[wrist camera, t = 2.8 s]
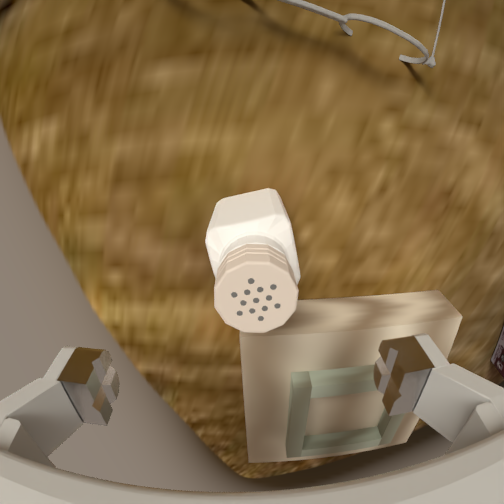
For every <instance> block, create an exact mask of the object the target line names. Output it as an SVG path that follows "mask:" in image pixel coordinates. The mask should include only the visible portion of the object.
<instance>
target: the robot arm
mask: <svg viewBox="0 0 504 504" xmlns="http://www.w3.org/2000/svg"><path fill="white" fill-rule="evenodd" d="M378 351H379V353H380V355H381V356H380V357H379V358H378V359H377V360H376V362H375V365H374V382H375V386H376V388H377V390H378V391H379V392H381V393H383V394H384V396H383V399H382V402H383V404H384V406H385V409H386V411H387V413H388V416H392V415H398V414H403V413H407V412H412V411H413V413H414V414H416V415H417V416H418V417H419V418H421V419H422V420H423V421H425V422H426V423H427V424H428V425H430V426H431V427H432V428H434V429H435V430H436V431H437V432H439V433H440V434H441V435H443V436H444V437H445V438H447V439H448V440H449V441H450V442H452V445H451V446H450V448H449V449H448V451H447V452H446V453H445V455H444V456H441V457H438V458H435V459H432V460H429V461H426V462H423V463H420V464H417V465H413V466H410V467H406V468H403V469H400V470H396V471H392V472H388V473H384V474H380V475H375V476H371V477H367V478H362V479H358V480H352V481H347V482H341V483H335V484H329V485H322V486H315V487H307V488H298V489H288V490H278V491H260V492H199V491H182V490H170V489H160V488H151V487H143V486H137V485H130V484H124V483H118V482H113V481H108V480H103V479H98V478H93V477H89V476H85V475H80V474H76V473H73V472H69V471H65V470H61V469H58V468H56V467H55V465H54V464H53V463H52V462H51V461H50V460H49V459H48V456H49V455H50V454H51V453H52V452H53V451H54V450H55V449H57V448H58V447H59V446H60V445H61V444H62V443H63V442H64V441H65V440H66V439H67V438H69V437H70V436H71V435H72V434H73V433H74V432H75V431H76V430H77V429H78V428H79V427H81V426H82V425H83V423H90V424H98V425H105V426H107V424H108V421H109V419H110V416H111V413H112V407H111V405H110V404H111V403H112V402H114V401H115V400H116V399H117V396H118V393H119V378H118V375H117V372H116V370H115V369H113V368H112V367H111V366H110V364H111V362H112V359H111V356H110V354H109V352H108V351H106V350H102V349H91V348H82V347H70V346H65V347H63V348H62V349H61V350H60V352H59V354H58V355H57V357H56V358H55V360H54V362H53V363H52V365H51V366H50V368H49V369H48V371H47V373H46V374H45V376H44V377H43V379H42V378H38V379H37V380H35V381H33V382H32V383H30V384H28V385H26V386H25V387H23V388H22V389H20V390H18V391H17V392H15V393H13V394H11V395H10V396H8V397H6V398H5V399H3V400H1V401H0V504H504V388H502V387H500V386H498V385H496V384H494V383H492V382H490V381H488V380H486V379H484V378H482V377H480V376H478V375H476V374H474V373H472V372H470V371H468V370H466V369H464V368H462V367H460V366H458V365H456V364H449V362H448V361H447V360H446V358H445V357H444V355H443V354H442V353H441V351H440V350H439V348H438V347H437V346H436V344H435V343H434V342H433V340H432V339H431V338H430V336H429V335H428V334H426V333H421V334H416V335H411V336H406V337H400V338H394V339H387V340H382V342H381V343H380V346H379V349H378Z"/></svg>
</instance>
